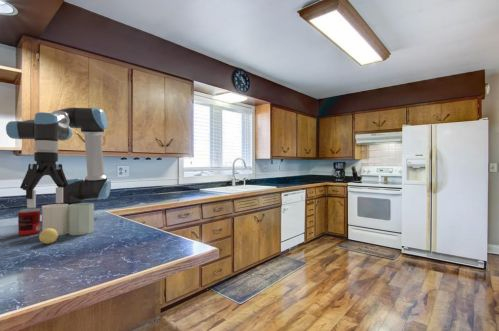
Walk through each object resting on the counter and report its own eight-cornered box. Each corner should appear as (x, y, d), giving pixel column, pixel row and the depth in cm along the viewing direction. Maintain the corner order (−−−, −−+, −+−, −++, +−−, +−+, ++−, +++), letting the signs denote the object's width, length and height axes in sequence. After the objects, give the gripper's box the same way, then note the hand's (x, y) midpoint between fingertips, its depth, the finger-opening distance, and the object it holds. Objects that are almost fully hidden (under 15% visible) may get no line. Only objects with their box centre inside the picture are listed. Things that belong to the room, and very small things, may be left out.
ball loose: (47, 241, 109) (47, 226, 109) (61, 241, 109) (61, 226, 109) (35, 245, 103) (35, 230, 103) (49, 245, 103) (49, 230, 103)
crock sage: (78, 229, 128) (78, 203, 128) (97, 230, 127) (97, 203, 127) (63, 235, 118) (63, 206, 118) (84, 235, 118) (84, 206, 118)
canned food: (37, 230, 127) (37, 207, 127) (42, 233, 121) (42, 209, 121) (16, 234, 121) (16, 209, 121) (20, 237, 116) (20, 211, 116)
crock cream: (53, 231, 125) (53, 203, 125) (73, 231, 125) (73, 203, 125) (36, 236, 116) (36, 207, 116) (57, 237, 115) (57, 207, 115)
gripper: (61, 153, 118) (61, 200, 118) (7, 149, 94) (7, 210, 93) (77, 153, 118) (77, 201, 118) (27, 149, 93) (27, 210, 93)
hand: (46, 205), depth 106 cm, fingers open, 13 cm apart
